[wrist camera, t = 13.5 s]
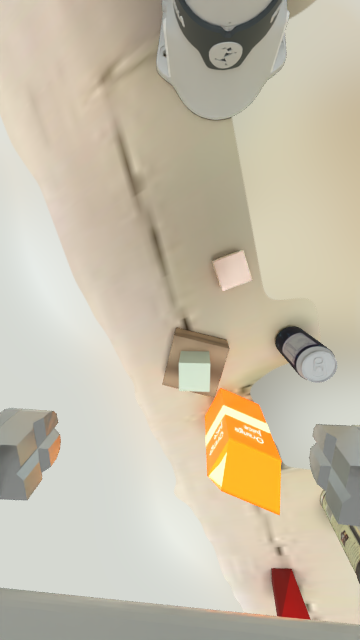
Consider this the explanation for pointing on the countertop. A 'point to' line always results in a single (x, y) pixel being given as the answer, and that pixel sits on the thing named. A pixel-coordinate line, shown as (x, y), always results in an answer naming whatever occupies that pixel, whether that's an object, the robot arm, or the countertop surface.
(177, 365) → the walnut block
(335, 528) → the coffee can
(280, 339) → the beverage can
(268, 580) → the countertop surface
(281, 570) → the french fries
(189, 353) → the sage cube
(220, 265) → the terracotta cube
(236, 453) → the orange juice
